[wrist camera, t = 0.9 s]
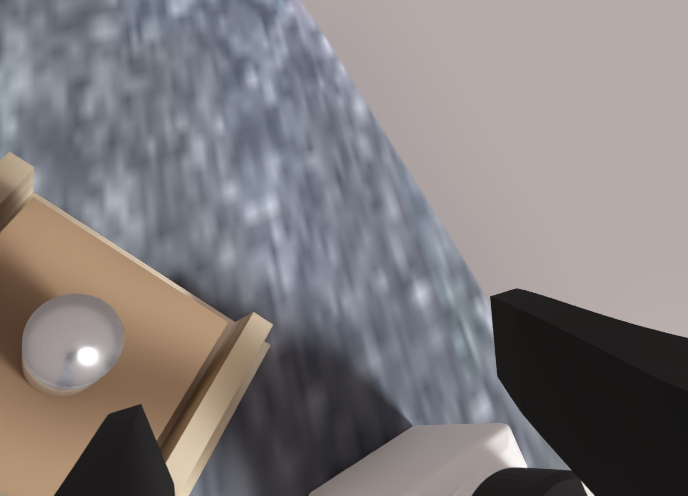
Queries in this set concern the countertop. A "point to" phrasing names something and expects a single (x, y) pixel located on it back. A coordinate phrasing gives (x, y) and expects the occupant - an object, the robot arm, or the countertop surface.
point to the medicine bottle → (451, 467)
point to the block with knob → (83, 345)
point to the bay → (213, 377)
